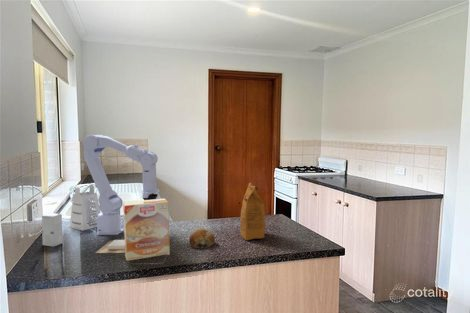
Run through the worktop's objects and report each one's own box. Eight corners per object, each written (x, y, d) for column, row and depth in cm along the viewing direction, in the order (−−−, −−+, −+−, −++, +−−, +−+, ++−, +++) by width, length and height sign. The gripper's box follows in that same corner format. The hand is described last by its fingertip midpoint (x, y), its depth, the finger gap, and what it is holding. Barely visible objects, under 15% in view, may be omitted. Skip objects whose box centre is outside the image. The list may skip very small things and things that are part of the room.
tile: (114, 243, 128) (107, 250, 121) (114, 239, 128) (107, 245, 121) (132, 243, 128) (126, 249, 121) (132, 239, 128) (126, 245, 121)
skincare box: (42, 245, 129) (40, 215, 128) (51, 241, 133) (49, 212, 132) (54, 246, 127) (52, 216, 126) (63, 243, 131) (61, 213, 130)
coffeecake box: (126, 262, 111) (124, 205, 109) (124, 255, 117) (122, 201, 116) (170, 255, 116) (168, 201, 115) (166, 248, 123) (164, 197, 122)
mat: (95, 253, 119) (94, 252, 119) (110, 241, 133) (110, 240, 133) (133, 253, 118) (133, 252, 118) (144, 241, 132) (144, 240, 132)
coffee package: (261, 231, 143) (260, 181, 141) (267, 240, 131) (266, 186, 129) (239, 232, 142) (238, 182, 140) (242, 241, 130) (241, 187, 128)
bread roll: (217, 252, 129) (219, 231, 132) (207, 249, 120) (210, 227, 123) (194, 249, 132) (197, 229, 135) (183, 246, 123) (186, 225, 126)
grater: (102, 224, 158) (101, 184, 156) (82, 230, 149) (80, 187, 147) (89, 222, 163) (88, 182, 162) (69, 227, 154) (67, 185, 153)
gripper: (154, 182, 133) (155, 215, 134) (162, 177, 148) (163, 207, 149) (137, 182, 133) (138, 215, 134) (147, 178, 148) (148, 207, 149)
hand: (150, 211), depth 142 cm, fingers closed
